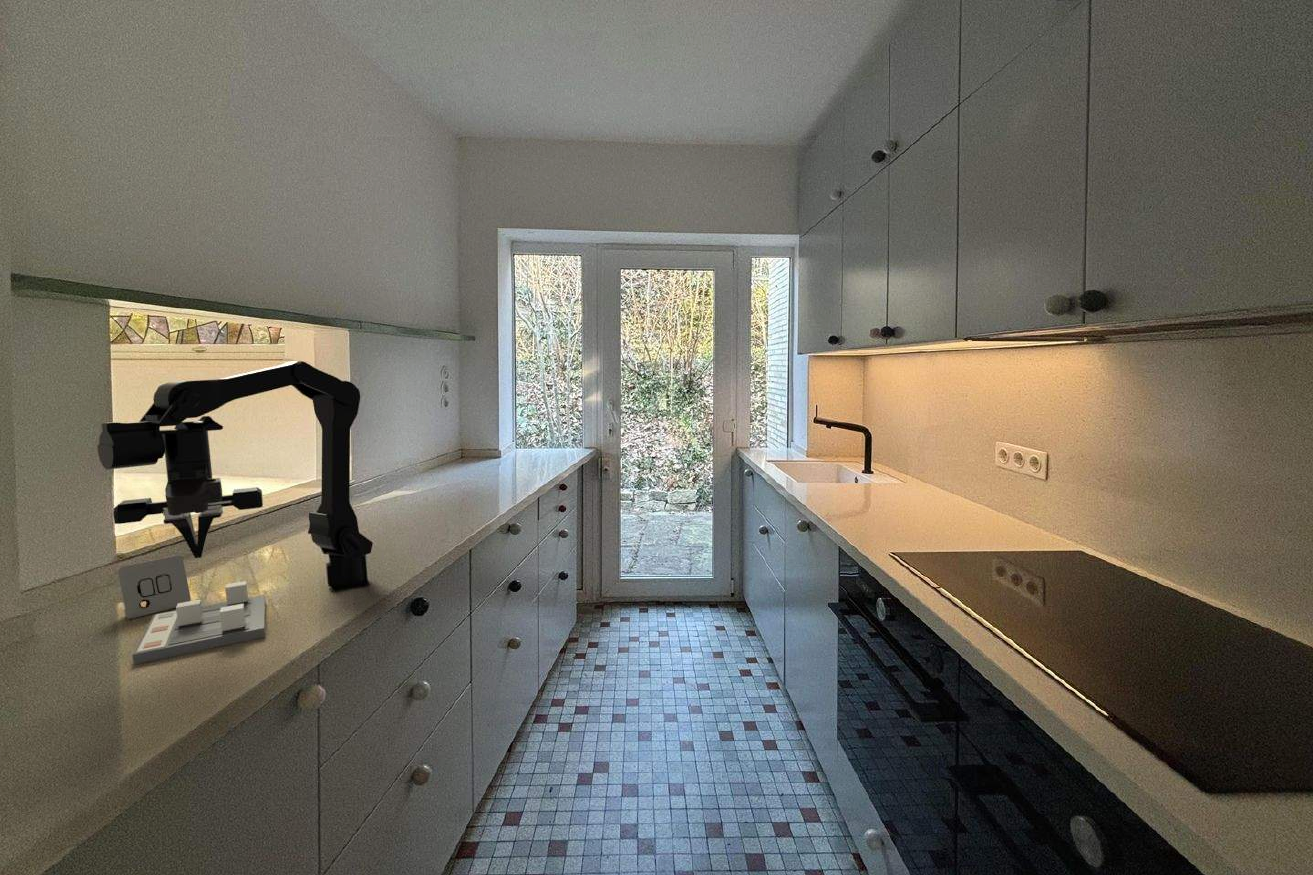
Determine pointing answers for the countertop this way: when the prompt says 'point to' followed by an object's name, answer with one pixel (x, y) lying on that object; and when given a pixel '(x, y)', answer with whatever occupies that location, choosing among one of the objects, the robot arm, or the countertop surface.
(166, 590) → the electrical switch
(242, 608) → the switch tab
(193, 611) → the switch tab
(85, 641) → the countertop surface
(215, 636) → the switch housing
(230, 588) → the switch tab
